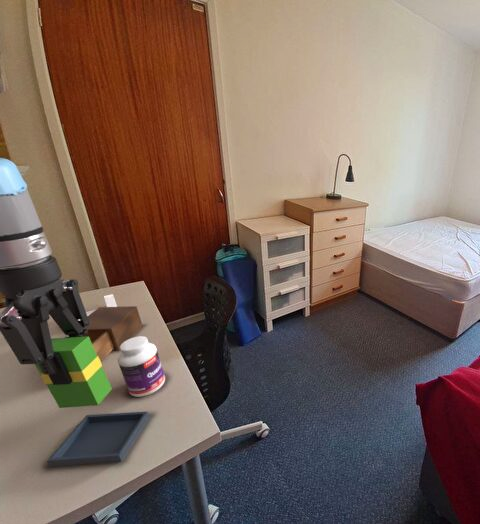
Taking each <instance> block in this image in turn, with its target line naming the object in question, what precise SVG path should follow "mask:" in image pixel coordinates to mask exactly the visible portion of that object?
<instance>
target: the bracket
mask: <svg viewBox="0 0 480 524" xmlns="http://www.w3.org/2000/svg"><path fill="white" fill-rule="evenodd" d="M103 297H104V298H103V299H104V301H105V304H106V306H105V307H118V304H117V301H116V299H115V296H114V294H113V293H110V294H106V295H103ZM97 309H98V308H95V309H92V310H88V311H86V314H87V316H89V315H90V314H91V313H93V312H94V311H95V310H97ZM78 321H80V319H78Z"/></svg>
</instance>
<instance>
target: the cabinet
mask: <svg viewBox="0 0 480 524" xmlns="http://www.w3.org/2000/svg"><path fill="white" fill-rule="evenodd" d="M96 309H97V310H95V309H94V310H95V311H94V312H93V313H91V314H90V315H89V316H87V317H88V319H89V322H90V323H89V325H88V326H85V327H84V329H88V332H93V331H109V332H110V334H111V337H112V340H113V342H114V345H115V348H114V349H113V350H112V351H111V352H117V351H121V349H120V346H121V344H122V343H123V342H125V341H126V340H128V339H130V338H133V337H135V335H136V334H137V333H138V332H139V331H140V330H141V329H142V328H143V323H142V319H141V316H140V313H139V310H138V306H136V305H135V306H133V305H132V306H117V307H106V306H100V307H98V308H96Z"/></svg>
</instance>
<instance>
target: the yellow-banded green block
mask: <svg viewBox="0 0 480 524" xmlns="http://www.w3.org/2000/svg"><path fill="white" fill-rule="evenodd" d="M51 341H52V346H53V350H54V354H55V353H60V355H61V357H62V359H63V361H64V363H65V365H66V367H67V369H68V371H69V374H70V376H71V378H72V380H73V382H72V383H70V384H64V385H53V383H52V381H51V379H50V377H49V375H45V374H44V373H43V372H42V370H41V368H40V366H39V364H34V365H35V367H36V369H37V370H38V372H39V376H40V377H41V379H42V381H43V383H44V384H45V385H46V387H47V388H48V390H49V392H50V394H51V395H52V398H53V399H54V401H55V403H56V404H57V406H58V408H59V409H64V408H65V409H67V408H78V407H79V408H80V407H93V406H99V405H100V404H101V403H102V401H103V400H104V399H105V398H106V397H107V396H108V395H109V393H110V392H111V391H112V390H113V388H112V386H111V383H110V381H109V379H108V376H107V374H106V371H105V370H104V368H103V364H102V361H101V362H100V359H99V357H98V356H97V354H96V352H95V349H94V347H93V345H92V343H91V340H90V338H89V337H70V338H65V337H56V338H55V337H54V338H52V337H51Z"/></svg>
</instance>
